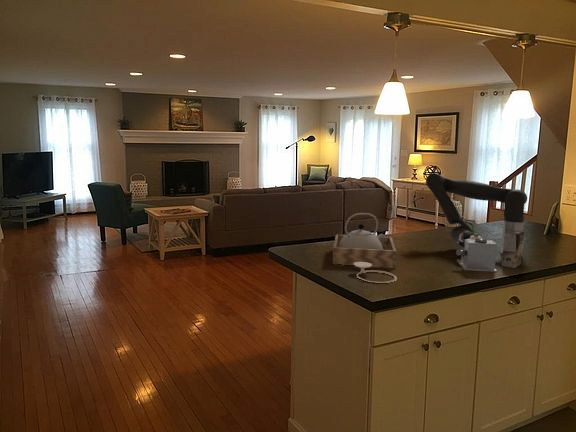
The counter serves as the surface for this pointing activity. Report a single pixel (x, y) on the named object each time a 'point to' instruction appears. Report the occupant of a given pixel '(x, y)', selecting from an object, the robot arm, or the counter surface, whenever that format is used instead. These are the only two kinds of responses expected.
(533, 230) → the counter surface
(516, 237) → the coffee box
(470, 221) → the food container
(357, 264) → the hand towel holder
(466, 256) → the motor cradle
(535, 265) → the counter surface
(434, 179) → the robot arm
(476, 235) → the white bottle
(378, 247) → the kettle
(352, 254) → the kettle caddy
